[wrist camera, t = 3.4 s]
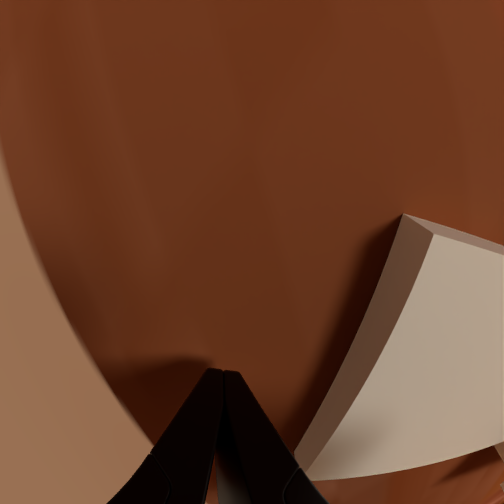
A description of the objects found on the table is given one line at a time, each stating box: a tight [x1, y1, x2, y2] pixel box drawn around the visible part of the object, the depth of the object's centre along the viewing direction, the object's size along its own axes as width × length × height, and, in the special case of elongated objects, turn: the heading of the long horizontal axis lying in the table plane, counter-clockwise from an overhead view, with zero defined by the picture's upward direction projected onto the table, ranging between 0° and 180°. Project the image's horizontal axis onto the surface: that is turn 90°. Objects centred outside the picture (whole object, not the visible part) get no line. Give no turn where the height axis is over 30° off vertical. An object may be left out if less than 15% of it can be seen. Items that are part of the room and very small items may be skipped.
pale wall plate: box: [294, 214, 504, 481], centre depth 10 cm, size 10×14×2 cm
